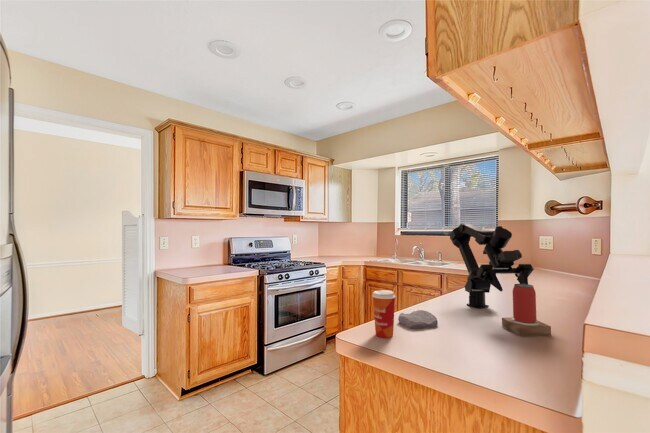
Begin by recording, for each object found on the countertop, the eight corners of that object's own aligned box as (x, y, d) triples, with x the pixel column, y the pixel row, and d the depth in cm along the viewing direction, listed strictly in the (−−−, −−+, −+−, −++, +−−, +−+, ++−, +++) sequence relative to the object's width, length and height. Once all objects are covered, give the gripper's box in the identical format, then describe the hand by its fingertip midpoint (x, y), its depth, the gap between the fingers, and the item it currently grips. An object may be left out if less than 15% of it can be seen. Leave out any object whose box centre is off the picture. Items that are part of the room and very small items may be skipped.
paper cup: (368, 333, 104) (367, 290, 104) (387, 329, 107) (387, 289, 107) (380, 340, 97) (380, 295, 97) (401, 337, 100) (400, 293, 100)
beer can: (523, 324, 101) (522, 287, 101) (508, 318, 107) (507, 283, 108) (541, 323, 102) (540, 286, 102) (526, 317, 108) (524, 283, 109)
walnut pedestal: (502, 326, 109) (501, 317, 109) (530, 325, 109) (530, 316, 110) (520, 336, 99) (519, 326, 99) (551, 335, 99) (550, 325, 100)
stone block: (440, 331, 110) (423, 318, 120) (441, 319, 110) (424, 306, 119) (412, 337, 106) (396, 323, 116) (413, 324, 106) (397, 311, 115)
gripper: (479, 242, 116) (497, 277, 104) (529, 242, 116) (552, 276, 104) (470, 261, 123) (485, 295, 112) (517, 260, 123) (536, 295, 112)
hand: (514, 290), depth 110 cm, fingers open, 9 cm apart
